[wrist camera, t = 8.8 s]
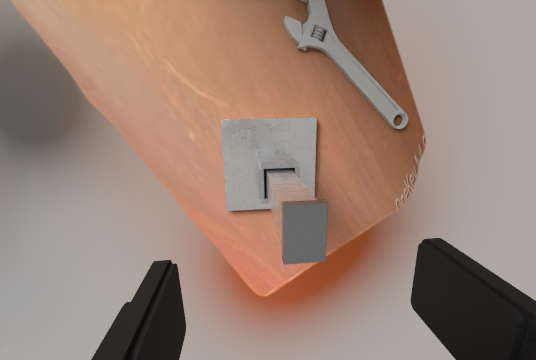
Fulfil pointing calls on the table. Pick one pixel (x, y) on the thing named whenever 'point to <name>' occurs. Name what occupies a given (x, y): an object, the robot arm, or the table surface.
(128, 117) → the table surface
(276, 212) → the column
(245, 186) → the stand base
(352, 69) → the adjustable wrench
